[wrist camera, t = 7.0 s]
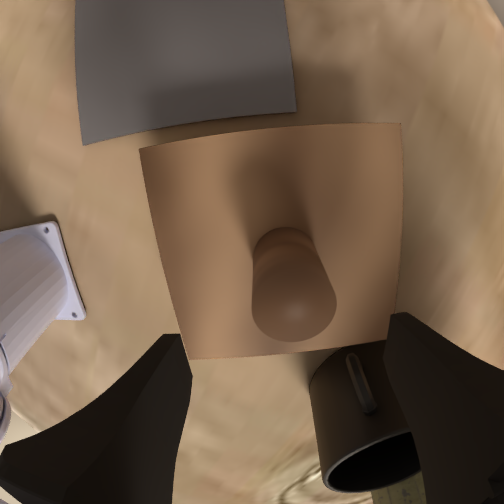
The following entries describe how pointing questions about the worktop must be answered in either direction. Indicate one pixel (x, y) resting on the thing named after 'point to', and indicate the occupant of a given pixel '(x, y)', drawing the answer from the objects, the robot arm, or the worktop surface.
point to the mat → (178, 63)
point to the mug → (360, 422)
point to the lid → (279, 236)
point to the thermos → (402, 492)
